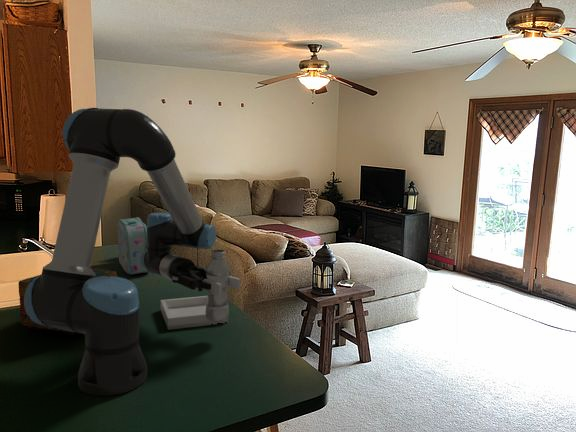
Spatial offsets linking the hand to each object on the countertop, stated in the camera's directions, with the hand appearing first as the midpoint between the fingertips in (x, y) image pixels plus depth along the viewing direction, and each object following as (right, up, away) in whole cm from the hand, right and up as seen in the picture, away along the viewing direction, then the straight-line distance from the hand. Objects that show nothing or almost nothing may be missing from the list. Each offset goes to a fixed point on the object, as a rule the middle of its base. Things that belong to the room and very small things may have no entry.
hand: (230, 286), depth 127 cm
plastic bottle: (-4, -10, +5) cm, 12 cm away
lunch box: (-48, -3, +69) cm, 84 cm away
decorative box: (-48, -13, +11) cm, 51 cm away
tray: (-14, -13, +21) cm, 28 cm away
